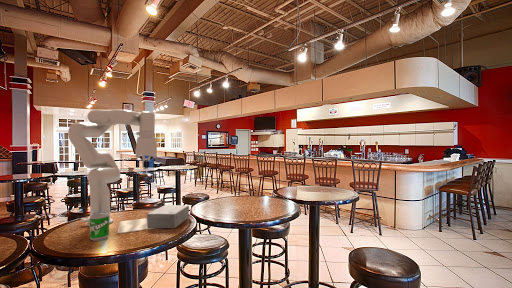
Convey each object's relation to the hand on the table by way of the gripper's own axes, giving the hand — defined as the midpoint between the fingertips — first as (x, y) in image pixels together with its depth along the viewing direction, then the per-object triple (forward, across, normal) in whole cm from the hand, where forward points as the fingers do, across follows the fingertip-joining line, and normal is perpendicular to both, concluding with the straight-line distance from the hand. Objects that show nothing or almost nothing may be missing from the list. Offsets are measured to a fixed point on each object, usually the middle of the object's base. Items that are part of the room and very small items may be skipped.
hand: (146, 168), depth 133 cm
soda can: (+32, -19, -10) cm, 39 cm away
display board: (+31, +1, +4) cm, 32 cm away
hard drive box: (+27, +7, -9) cm, 29 cm away
